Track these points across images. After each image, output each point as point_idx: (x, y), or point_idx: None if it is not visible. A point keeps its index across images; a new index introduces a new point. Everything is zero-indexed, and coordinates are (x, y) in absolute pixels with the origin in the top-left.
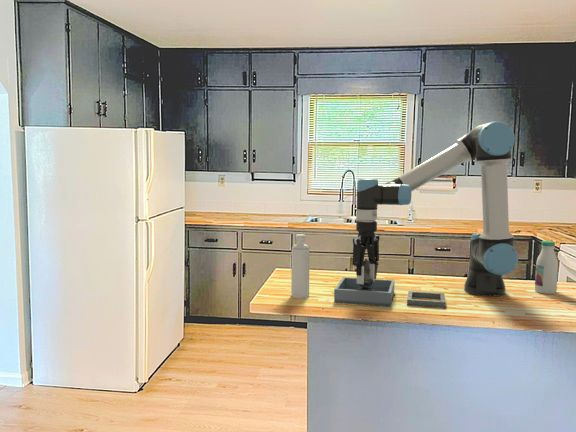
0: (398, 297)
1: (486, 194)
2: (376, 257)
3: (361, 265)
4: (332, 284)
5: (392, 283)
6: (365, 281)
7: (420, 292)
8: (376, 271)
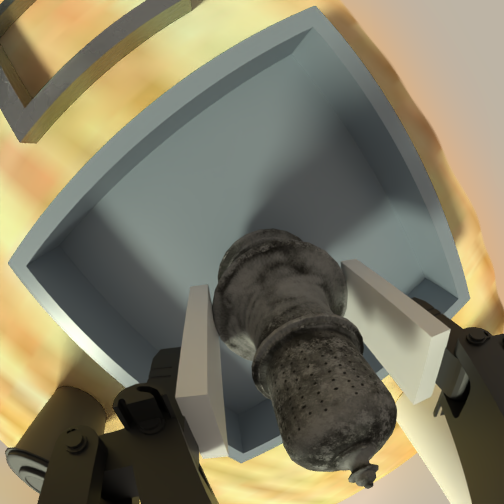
0: (91, 150)
1: None
2: (97, 486)
3: (484, 332)
4: (213, 468)
5: (68, 194)
6: (328, 269)
7: (6, 85)
8: (33, 427)
